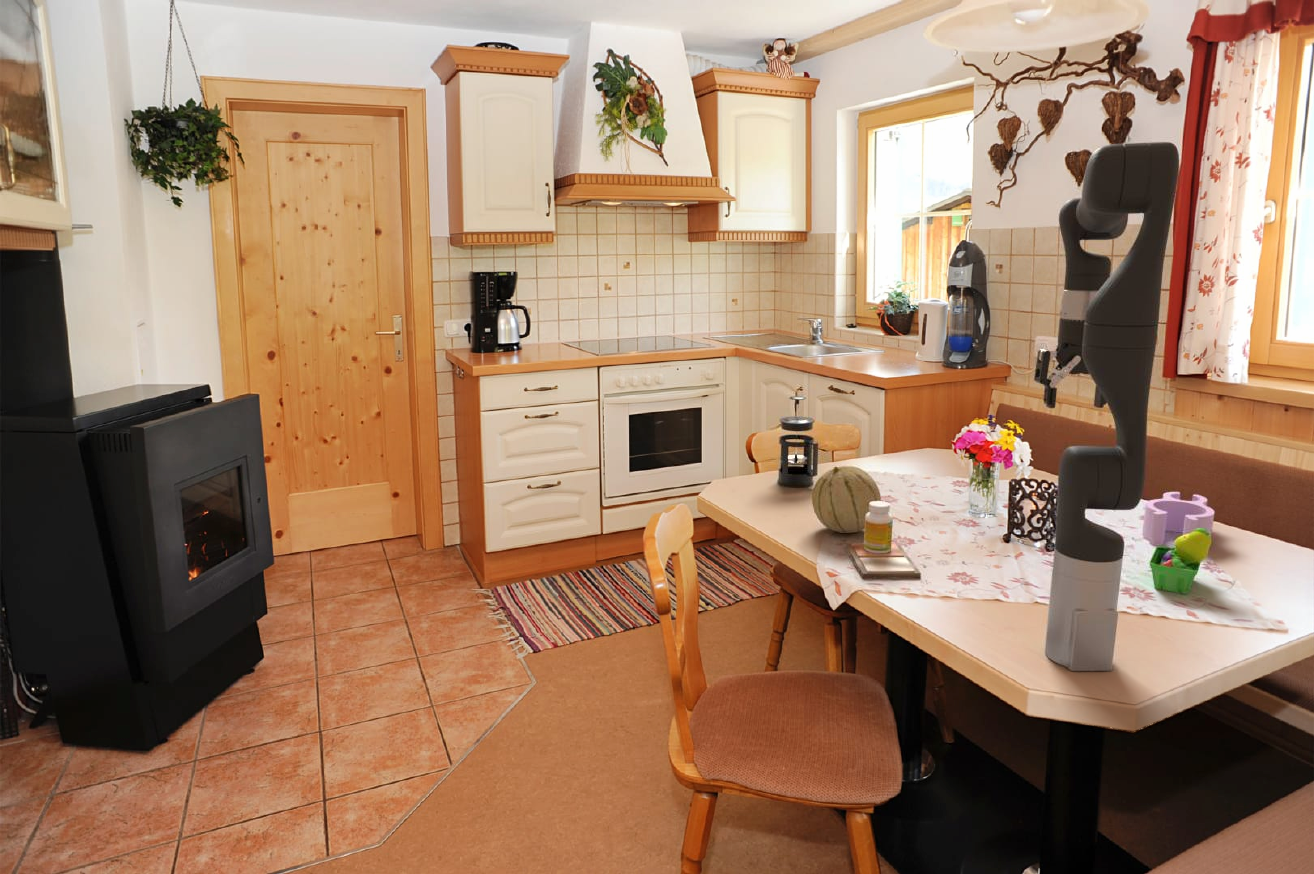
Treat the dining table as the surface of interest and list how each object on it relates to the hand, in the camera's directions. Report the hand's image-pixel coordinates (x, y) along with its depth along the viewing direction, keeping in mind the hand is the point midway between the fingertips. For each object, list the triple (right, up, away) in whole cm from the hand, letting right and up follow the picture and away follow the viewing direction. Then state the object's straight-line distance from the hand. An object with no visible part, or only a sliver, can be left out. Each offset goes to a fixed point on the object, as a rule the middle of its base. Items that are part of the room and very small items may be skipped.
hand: (1074, 407), depth 156 cm
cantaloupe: (-33, -26, +36) cm, 56 cm away
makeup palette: (-30, -30, +18) cm, 46 cm away
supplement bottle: (-30, -28, +21) cm, 46 cm away
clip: (+37, -27, +31) cm, 55 cm away
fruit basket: (+21, -33, +5) cm, 40 cm away
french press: (-38, -18, +73) cm, 84 cm away
